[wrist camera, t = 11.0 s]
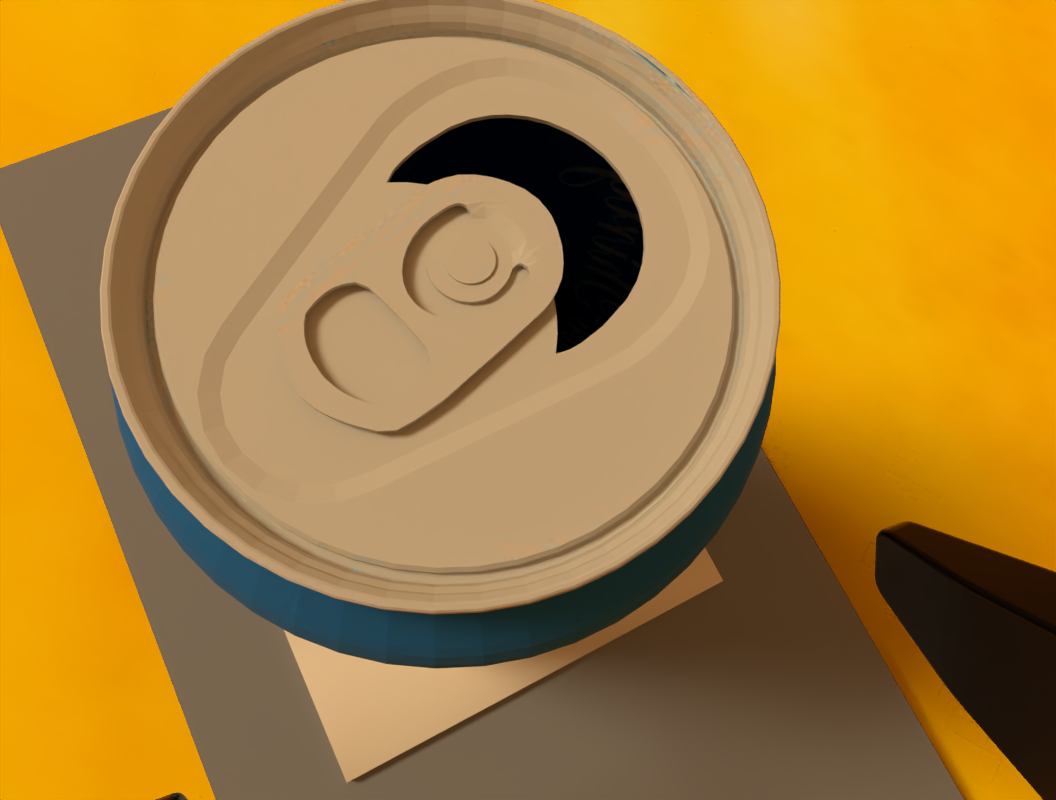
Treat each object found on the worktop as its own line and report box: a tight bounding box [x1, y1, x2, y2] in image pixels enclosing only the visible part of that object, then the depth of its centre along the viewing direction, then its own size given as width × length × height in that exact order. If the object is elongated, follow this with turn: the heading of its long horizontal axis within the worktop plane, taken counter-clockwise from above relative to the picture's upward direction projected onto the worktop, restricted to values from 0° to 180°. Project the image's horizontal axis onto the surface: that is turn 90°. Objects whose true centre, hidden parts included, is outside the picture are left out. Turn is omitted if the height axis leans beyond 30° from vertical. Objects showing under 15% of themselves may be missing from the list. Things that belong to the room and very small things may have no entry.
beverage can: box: [100, 0, 780, 669], centre depth 13 cm, size 6×6×12 cm
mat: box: [0, 107, 964, 800], centre depth 19 cm, size 24×14×1 cm, turn 27°
